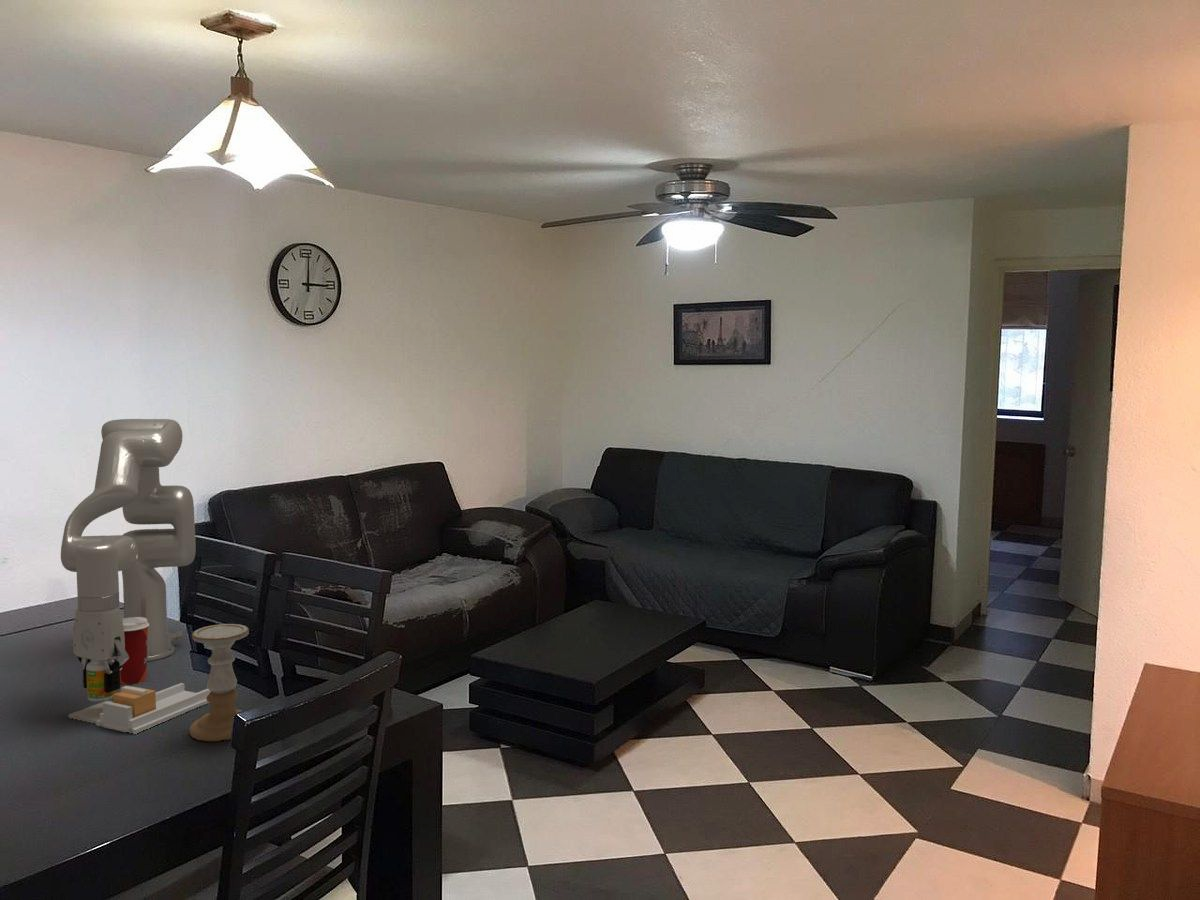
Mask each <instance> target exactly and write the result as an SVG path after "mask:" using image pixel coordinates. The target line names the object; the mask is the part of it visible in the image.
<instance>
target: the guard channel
mask: <svg viewBox="0 0 1200 900" xmlns="http://www.w3.org/2000/svg"><path fill="white" fill-rule="evenodd" d="M185 688H186V687H185V683H183V682H180V683H178V684H175V685H172V686H169V687H167V688H164V689H162V690H159V691H156V709H155V710H153V711H150V712H147V713H145V714H142V715H140V716H137V717H135V718H132V707H131V706H127V705H122V704H117V703H113V701H111V702H108V701H109V700H106V701H107V702H104V701H103V702H104V703H103V713H101V714H100V720H97V721H96V724H95V725H96V726H97V727H100V726H101V728H105V729H111V730H113V729H114V731H119V732H123V733H126V732H129V733H128V734H131V733H133V734H132V735H135V734H136V735H138V734H137V733H139V732H141V731H143V730H146V729H148V730H150V729H149V728H151V727H153V726H155V725H157V724H160V723H162V722H165V721H167V720H169V719H171V718H173V717H176V716H178V715H180V714H183V713H185V712H187V711H189V710H192V709H194V708H196V707H199V706H201V705H204V704H207V703H209V702H208V701H207V700H206V698H207V696H208V695H209V693H210V692H211V691H210V690H209V689H208V688H206V689H203V690H200V691H198V692H195V691H188V690H185ZM167 722H168V721H167ZM165 723H166V722H165ZM160 725H161V724H160ZM155 727H156V726H155ZM153 728H154V727H153ZM151 729H152V728H151ZM146 731H147V730H146ZM141 733H142V732H141ZM139 734H140V733H139Z"/></svg>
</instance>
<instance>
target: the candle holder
mask: <svg viewBox="0 0 1200 900" xmlns="http://www.w3.org/2000/svg"><path fill="white" fill-rule="evenodd" d="M249 633H250V629H249V627H248V626H247V625H243V624H238V623H222V624H221V623H219V624H214V625H212V624H211V625H208V626H203V627H201V628H197V629H196V630H194V631H193V632H192V633H191V639H192V640H193V641H194V642H197V643H199V644H200V643H201V644H206V646H207V647H209V648H210V650H211V654H210V657H209V658H207V663H208V664H209V665H210V671H209V677H208V679H207V683H206V687H207V689H209V690H210V691H211V692H210V693H209V695H208V696H207V698H206V700H207V701H208V702H209V703H210V704H209V705H210V711H209V712H208V713H205V714H204V715H202V716H200V718H198V719H197V720H195V721H194V722H193V723H192V724H191V725H190V727H189V730H188V731H189V735H190V737H191V738H193V739H194V738H195V739H194V740H197V741H201V740H202V741H203V742H222V741H221V740H224V741H229V740H231V739H230V735H231V728H232V722H233V717H234V715H235V714H236V713H238V712H241V711H243V710H242V709H236V703H235V701H236V700H237V699H238V697H239V693H238V692H237V691H236V690H235V687H236V686H237V684H238V679H237V677H236V674H235V672H234V669H233V662H234V661H235V660H236V657H235V655H233V654H232V652H231V650H232V649H231V648H232V647H233V645H234V644H235V643H236V641H239V640H241V639H244V638H245V637H247V636H249ZM225 739H226V740H225Z"/></svg>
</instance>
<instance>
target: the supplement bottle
mask: <svg viewBox="0 0 1200 900" xmlns="http://www.w3.org/2000/svg"><path fill="white" fill-rule="evenodd" d="M90 660H91V659H90ZM110 663H111V665H112V664H113V663H114V660H110ZM105 673H107V672H106V669H105V665H104V661H97V660H91V662H89V663H88V664H87V666H86V676H87V688H86V696H87V697H86V698H87V700H89V701H90V702H104V701H109V700H111V699H113V694H115V693H118V691H117V690H118V689H117V690H115V691H112V692H109V693H106V692H105V687H104V674H105Z"/></svg>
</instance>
